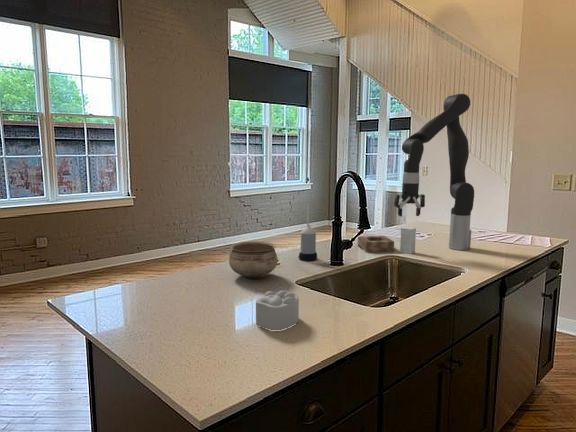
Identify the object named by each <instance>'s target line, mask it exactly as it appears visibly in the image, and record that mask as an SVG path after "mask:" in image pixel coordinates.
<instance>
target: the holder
mask: <svg viewBox="0 0 576 432" xmlns="http://www.w3.org/2000/svg"><path fill="white" fill-rule="evenodd" d="M357 247H358V248H360V250H362V251H363V250H364V251H363V252H364V253H366V252H367V253H391V252H393V253H394V252H395V241H394V240H392V239H391V238H389V237H387V236H385V235H369V236H368V235H367V236H366V235H364V236H363V235H360V236H359V237H358V236H357Z"/></svg>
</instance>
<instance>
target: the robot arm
mask: <svg viewBox="0 0 576 432" xmlns="http://www.w3.org/2000/svg"><path fill="white" fill-rule="evenodd" d="M470 107H471V98H470V97H469V95H468V94H466V93H457V94H452V95H449V96H447V97H446V98H445V99H444V101H443V111H442V112H441V113H440V114H438V115H437V116H435V117H433V118H432V119H430V120H428V122H426V123H425V124H424V125H423V126H422V127H421V128H420V129H419V130H418V131H416V132H415V133H413V134H411V135H410V136H408V137H407V138H406V139H405V140H404V142H402V145H401V150H402V152H403V154H406V155H409V156H408V159H406V160H405V161H404V163H403V173H402V184H401V185H402V186H401V190H402V191H401V194H398V193H397V194H395V195H394V203H393V207H395V208H397V215H398V216H399V217H403V207H404V206H405V205H407V204H408V205H410V204H413V205H414V206H415V207H416V208H415V209H416V210H415V216H416V217H420V215H421V211H422V210H421V209H422V208H425V206H426V195H425V194H424V193H421V194H419V192H420V191H419V190H420V189H419V188H420V164H421V161H422V157H423V154H424V151H425V147H424V146H425V145H424V144H427V143H429V142H431V140H432V139H433V138H435V136H436V135H437V134H438V133H440V132H441V131H442V130H443V129H444V128H445V127H446V135H447V142H448V143H447V147H448V151H447V152H448V158H449V160H448V161H449V163H448V164H449V171H450V173H449V175H450V176H449V177H450V178H449V193H450V196H451V197H452V198H453V199H454V206H453V207H452V208H451V209H450V220H449V221H450V225H449V237H448V238H449V239H448V248H449V249H452V250H456V251H457V250H458V251H466V250H470V249H471V244H472V243H471V242H472V241H471V240H472V230H471V218H472V216H471V215H472V211H473V209H474V202H475V189H474V186H473V184H471V183H469V182H467V179H466V169H467V168H466V167H467V164H468V161H469V157H470V156H469V155H470V150H469V139H468V138H467V135H466V133H465V131H464V130H463V128H462V126H461V123H460V116H461V115H463V114H464V113H466V112H467V111H468V110H469V108H470ZM400 199H401V201H400ZM418 199H420V201H418Z"/></svg>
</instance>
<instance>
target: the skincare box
mask: <svg viewBox="0 0 576 432" xmlns="http://www.w3.org/2000/svg"><path fill="white" fill-rule="evenodd" d="M416 235H417V228H416V227H409V226H404V227H403V226H402V227H400V239H399V240H400V244H399V245H400V246H399V252H400V253H405V254H410V255H411V254H415V253H416V238H417V237H416Z"/></svg>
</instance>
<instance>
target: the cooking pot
mask: <svg viewBox="0 0 576 432" xmlns="http://www.w3.org/2000/svg"><path fill="white" fill-rule="evenodd" d="M276 246H277V245H275V244H274V243H272V242H268V241H267V242H266V241H243V242H237V243H233V244H231V245H230V249H231V250H229V257H228V264H229V267H230V268H231V270H232V271H233V272H234V273H236V274H237V275H239V276H242V277H243V278H245V279H248V280H258V279H261V278H263V277H265V276H266V275H268V274H270V273H271V272H273V270H275V269H276V267H277V265H278V263H279V259H278V258H279V257H278V255H277V252H276Z"/></svg>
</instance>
